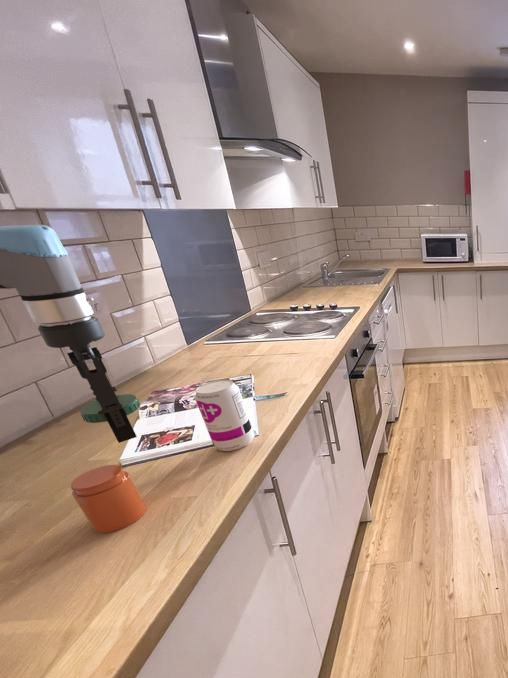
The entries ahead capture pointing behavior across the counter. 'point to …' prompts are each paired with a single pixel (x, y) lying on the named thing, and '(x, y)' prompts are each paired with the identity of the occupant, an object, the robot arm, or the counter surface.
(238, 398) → the supplement can
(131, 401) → the honey lid
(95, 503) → the honey jar
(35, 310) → the robot arm
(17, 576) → the counter surface
